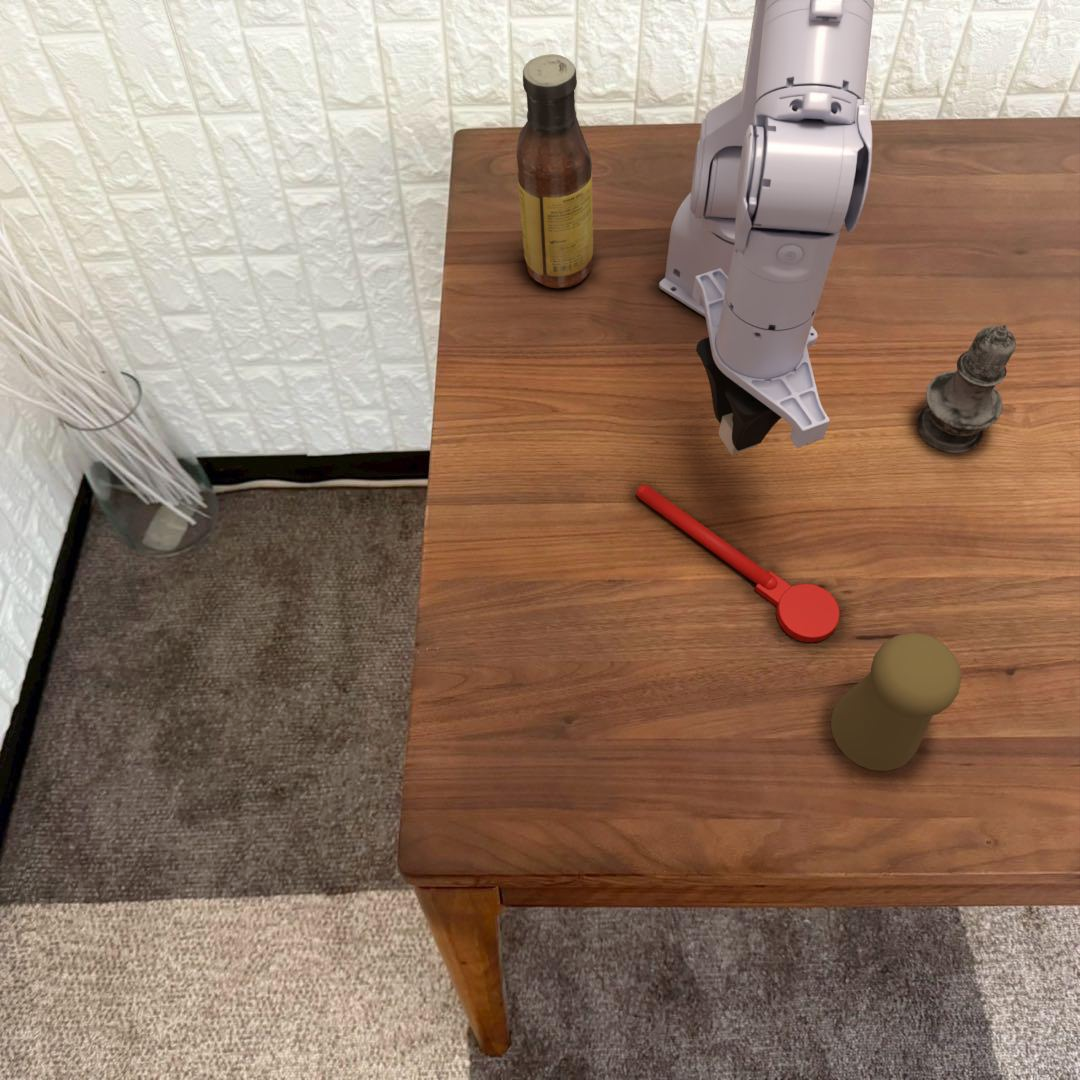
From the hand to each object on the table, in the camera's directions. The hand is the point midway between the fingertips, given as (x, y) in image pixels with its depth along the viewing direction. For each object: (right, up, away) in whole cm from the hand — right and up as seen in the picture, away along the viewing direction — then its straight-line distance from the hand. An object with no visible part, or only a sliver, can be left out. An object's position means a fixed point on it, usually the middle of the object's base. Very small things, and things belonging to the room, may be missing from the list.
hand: (738, 429), depth 74 cm
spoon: (0, -10, +2) cm, 10 cm away
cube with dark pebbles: (0, -1, +1) cm, 2 cm away
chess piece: (+19, +1, +9) cm, 21 cm away
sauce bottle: (-13, +17, +19) cm, 28 cm away
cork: (+8, -21, -4) cm, 23 cm away
